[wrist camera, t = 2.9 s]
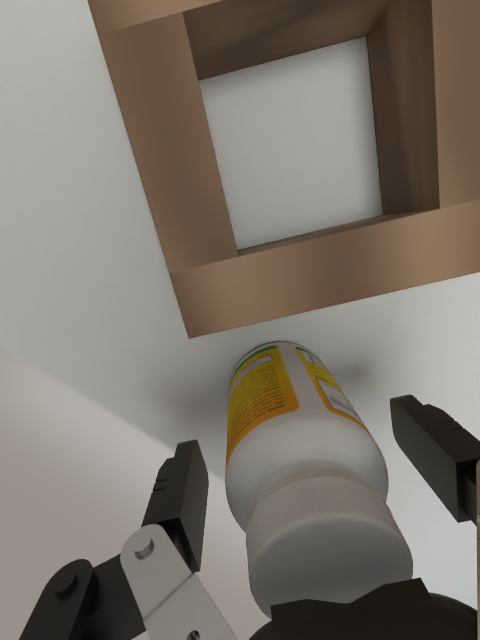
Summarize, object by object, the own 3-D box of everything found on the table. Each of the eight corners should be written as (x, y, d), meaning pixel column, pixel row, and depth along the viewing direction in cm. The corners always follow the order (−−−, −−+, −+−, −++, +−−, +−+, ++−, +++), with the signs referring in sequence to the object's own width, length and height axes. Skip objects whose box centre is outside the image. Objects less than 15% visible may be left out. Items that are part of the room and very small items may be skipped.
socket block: (199, 311, 15) (189, 338, 11) (119, 22, 12) (63, -79, 8) (439, 255, 15) (513, 264, 11) (426, -63, 11) (525, -215, 7)
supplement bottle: (334, 342, 16) (476, 498, 7) (318, 429, 17) (417, 655, 8) (231, 335, 16) (230, 487, 6) (224, 425, 17) (216, 652, 8)
